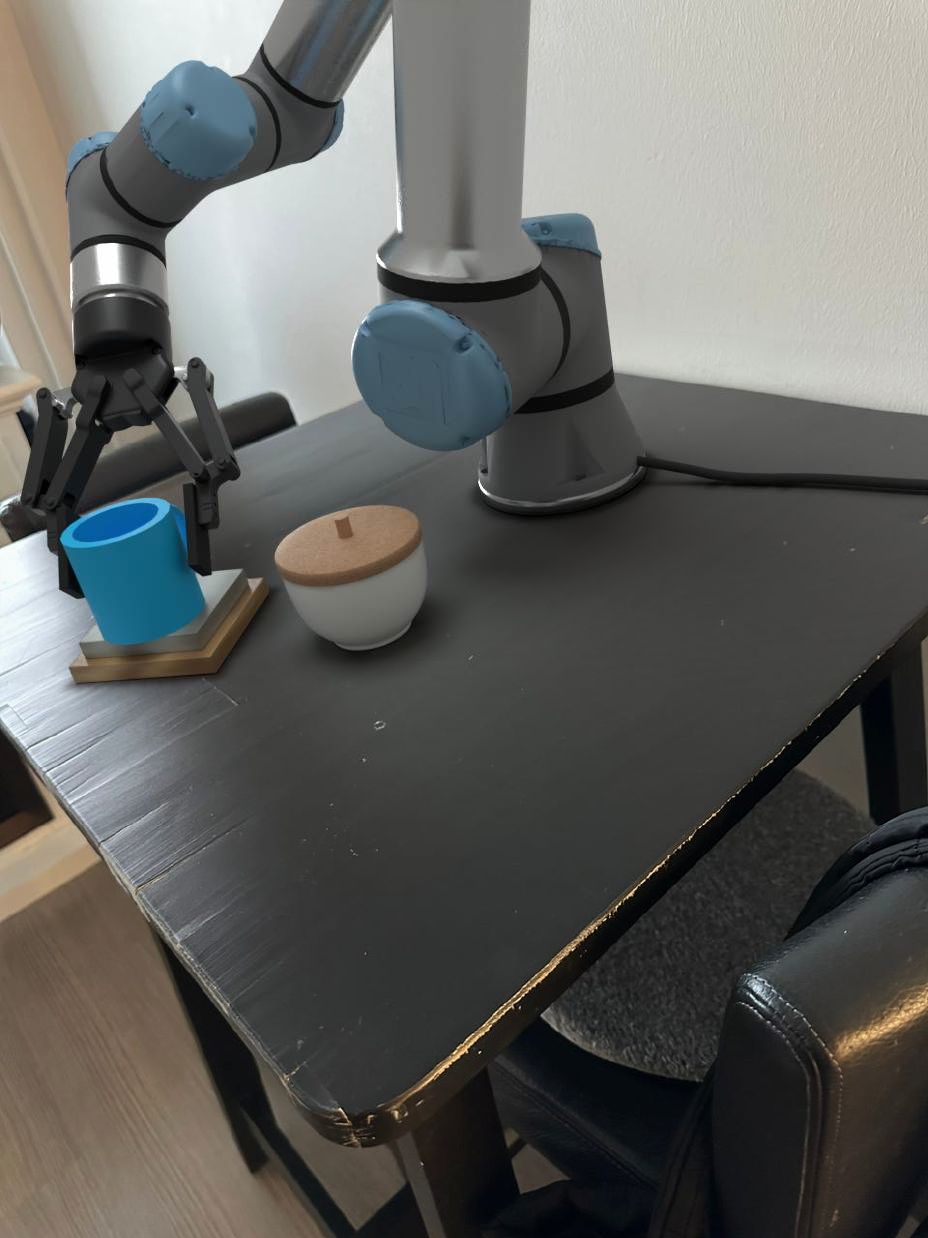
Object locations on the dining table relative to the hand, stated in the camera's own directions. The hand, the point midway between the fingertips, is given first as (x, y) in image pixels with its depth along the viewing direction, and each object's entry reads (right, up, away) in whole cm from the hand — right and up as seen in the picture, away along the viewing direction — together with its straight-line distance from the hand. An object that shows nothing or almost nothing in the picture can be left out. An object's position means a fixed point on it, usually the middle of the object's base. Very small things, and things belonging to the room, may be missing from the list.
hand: (136, 582), depth 77 cm
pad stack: (+1, -4, +6) cm, 7 cm away
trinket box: (+18, -4, +1) cm, 18 cm away
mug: (+1, -2, +5) cm, 5 cm away
